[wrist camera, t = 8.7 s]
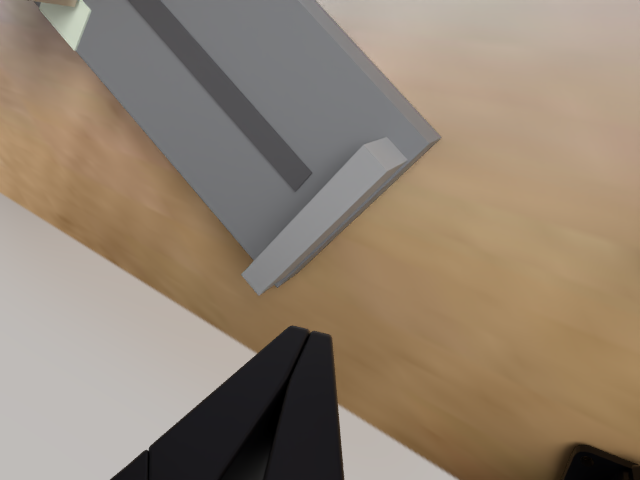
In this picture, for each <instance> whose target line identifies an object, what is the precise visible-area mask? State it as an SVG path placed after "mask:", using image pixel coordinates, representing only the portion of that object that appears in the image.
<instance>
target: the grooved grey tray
mask: <svg viewBox="0 0 640 480" xmlns="http://www.w3.org/2000/svg"><path fill="white" fill-rule="evenodd" d="M34 2H35V3H36V5H37V6H38V7H39V10H40V11H41V12H42V14H43V15H44V16H45V17H46V18H47V19H48V21H49V22H50V23H51V24H52V25H53V27H54V28H55V29H56V30H57V31H58V32H59V34H60V35H61V36H62V37H63V38H64V39H65V41H66V42H67V43H68V44H69V45H70V47H71V48H72V49H73V50H74V51H76V52H77V53H78V54H79V55H80V56H81V58H82V59H83V60H84V61H85V62H86V63H87V65H88V66H89V67H90V68H91V69H92V70H93V72H94V73H95V74H96V75H97V76H98V78H99V79H100V80H101V81H102V82H103V83H104V85H105V86H106V87H107V88H108V89H109V90H110V92H111V93H112V94H113V95H114V96H115V98H116V99H117V100H118V101H119V102H120V103H121V105H122V106H123V107H124V108H125V109H126V111H127V112H128V113H129V114H130V115H131V116H132V118H133V119H134V120H135V121H136V122H137V123H138V125H139V126H140V127H141V128H142V129H143V131H144V132H145V133H146V134H147V135H148V136H149V138H150V139H151V140H152V141H153V142H154V143H155V145H156V146H157V147H158V148H159V149H160V151H161V152H162V153H163V154H164V155H165V156H166V158H167V159H168V160H169V161H170V162H171V163H172V165H173V166H174V167H175V168H176V169H177V171H178V172H179V173H180V174H181V175H182V176H183V178H184V179H185V180H186V181H187V182H188V184H189V185H190V186H191V187H192V188H193V189H194V191H195V192H196V193H197V194H198V195H199V196H200V198H201V199H202V200H203V201H204V202H205V204H206V205H207V206H208V207H209V208H210V209H211V211H212V212H213V213H214V214H215V215H216V216H217V218H218V219H219V220H220V221H221V222H222V224H223V225H224V226H225V227H226V228H227V229H228V231H229V232H230V233H231V234H232V235H233V237H234V238H235V239H236V240H237V241H238V242H239V244H240V245H241V246H242V247H243V248H244V249H245V251H246V252H247V253H248V254H249V255H250V257H251V258H252V259H253V260H254V261H253V262H252V263H251V264H250V266H249V267H248V268H247V269H246V270H245V271H244V272H243V273H242V274H241V275H242V276H243V278H244V279H245V280H246V281H247V282H248V284H249V285H250V286H251V287H252V288H253V289H254V291H255V292H256V293H257V294H258V295H261V294H262V293H264V292H265V291H266V290H268V289H269V288H270V287H272V286H273V285H275V286H276V287H277V288H278V287H279V286H281V285H282V284H283V283H285V282H286V281H287V280H289V279H290V278H291V277H293V276H294V275H295V274H297V273H298V272H299V271H300V270H301V269H302V268H303V267H304V266H305V265H307V264H308V263H309V262H310V261H311V260H312V259H313V258H314V257H315V256H316V255H317V254H318V253H319V252H320V251H321V250H322V249H324V248H325V247H326V246H327V245H328V244H329V243H330V242H331V241H332V240H333V239H334V238H335V237H336V236H337V235H338V234H339V233H341V232H342V231H343V230H344V229H345V228H346V227H347V226H348V225H349V224H350V223H351V222H352V221H353V220H354V219H355V218H356V217H358V216H359V215H360V214H361V213H362V212H363V211H364V210H365V209H366V208H367V207H368V206H369V205H370V204H371V203H372V202H374V201H375V200H376V199H377V198H378V197H379V196H380V195H381V194H382V193H383V192H384V191H385V190H386V189H387V188H388V187H389V186H391V185H392V184H393V183H394V182H395V181H396V180H397V179H398V178H399V177H400V176H401V175H402V174H403V173H404V172H405V171H406V170H408V169H409V168H410V167H411V166H412V165H413V164H414V163H415V162H416V161H417V160H418V159H419V158H420V157H421V156H422V155H423V154H425V153H426V152H427V151H428V150H429V149H430V148H431V147H432V146H433V145H434V144H435V143H436V142H437V141H438V140H439V139H440V138H442V137H441V136H440V135H439V134H438V133H437V132H436V131H435V130H434V129H433V128H432V126H431V125H430V124H429V123H428V122H427V121H426V120H425V119H424V118H423V117H422V116H421V115H420V113H419V112H418V111H417V110H416V109H415V108H414V107H413V106H412V105H411V104H410V103H409V102H408V100H407V99H406V98H405V97H404V96H403V95H402V94H401V93H400V92H399V91H398V90H397V88H396V87H395V86H394V85H393V84H392V83H391V82H390V81H389V80H388V79H387V78H386V77H385V75H384V74H383V73H382V72H381V71H380V70H379V69H378V68H377V67H376V66H375V65H374V63H373V62H372V61H371V60H370V59H369V58H368V57H367V56H366V55H365V54H364V53H363V52H362V50H361V49H360V48H359V47H358V46H357V45H356V44H355V43H354V42H353V41H352V40H351V38H350V37H349V36H348V35H347V34H346V33H345V32H344V31H343V30H342V29H341V28H340V27H339V25H338V24H337V23H336V22H335V21H334V20H333V19H332V18H331V17H330V16H329V15H328V14H327V12H326V11H325V10H324V9H323V8H322V7H321V6H320V5H319V4H318V3H317V2H316V0H77V2H76V5H75V7H70V6H63V5H57V4H50V3H43V2H36V1H34Z"/></svg>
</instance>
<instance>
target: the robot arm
mask: <svg viewBox="0 0 640 480" xmlns="http://www.w3.org/2000/svg"><path fill="white" fill-rule="evenodd" d="M584 456H586V457H590V458H591V460H585V459H583V458H582V457H584ZM110 480H344V471H343V460H342V448H341V436H340V425H339V414H338V401H337V390H336V378H335V367H334V355H333V343H332V337H331V335H329V334H325V333H321V332H317V331H312V332H310V331H309V330H308V329H305V328H301V327H297V326H290V327H288V328H287V329H286V330H284V331H283V332H282V333H281V334H280V335H279V336H277V337H276V338H275V339H274V340H273V341H272V342H271V343H269V344H268V345H267V346H266V347H265V348H264V349H262V350H261V351H260V352H259V353H258V354H257V355H255V356H254V357H253V358H252V359H251V360H250V361H248V362H247V363H246V364H245V365H244V366H243V367H241V368H240V369H239V370H238V371H237V372H236V373H235V374H233V375H232V376H231V377H230V378H229V379H228V380H226V381H225V382H224V383H223V384H222V385H221V386H219V387H218V388H217V389H216V390H215V391H214V392H212V393H211V394H210V395H209V396H208V397H207V398H205V399H204V400H203V401H202V402H201V403H200V404H199V405H197V406H196V407H195V408H194V409H193V410H191V411H190V412H189V413H188V414H187V415H186V416H184V417H183V418H182V419H181V420H180V421H179V422H178V423H176V424H175V425H174V426H173V427H172V428H170V429H169V430H168V431H167V432H166V433H165V434H164V435H162V436H161V437H160V438H159V439H158V440H156V441H155V442H154V443H153V444H152V445H151V446H150V447H149V451H148V450H145V451H143V452H142V453H141V454H140V455H139V456H138V457H136V458H135V459H134V460H133V461H132V462H131V463H130V464H128V465H127V466H126V467H125V468H124V469H122V470H121V471H120V472H119V473H117V474H116V475H115V476H114V477H113V478H112V479H110ZM561 480H640V465H638V464H635V463H633V462H630V461H627V460H625V459H622V458H620V457H617V456H615V455H612V454H609V453H607V452H604V451H602V450H599V449H596V448H594V447H591V446H588V445H579V446H577V447H575V449H574V450H573V452H572V455H571V457H570V459H569V462H568V464H567V466H566V469H565V471H564V473H563V476H562V478H561Z"/></svg>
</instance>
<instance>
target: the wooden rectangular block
mask: <svg viewBox="0 0 640 480" xmlns="http://www.w3.org/2000/svg"><path fill="white" fill-rule="evenodd" d="M29 1H36V2H43V3H50V4H57V5H63V6H70V7H75V5H76V2H77V0H29Z"/></svg>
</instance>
